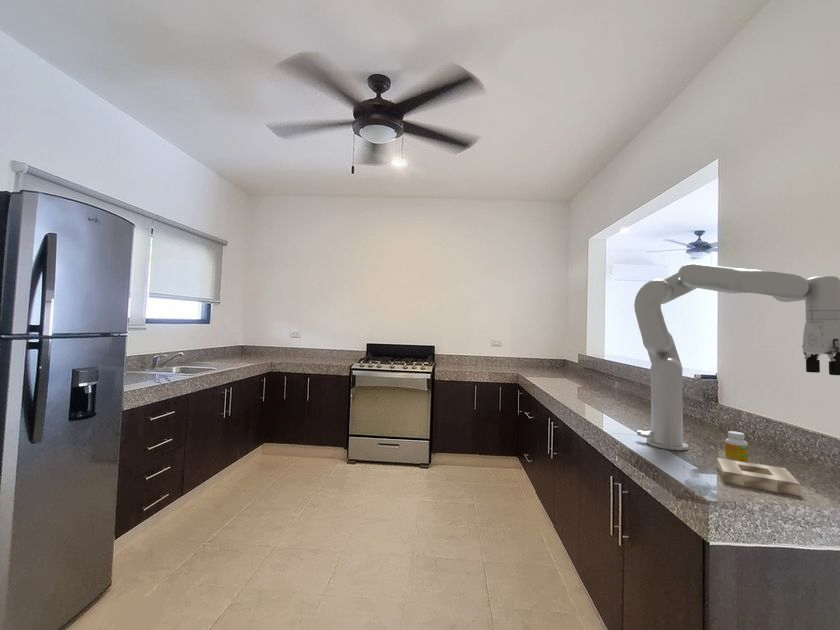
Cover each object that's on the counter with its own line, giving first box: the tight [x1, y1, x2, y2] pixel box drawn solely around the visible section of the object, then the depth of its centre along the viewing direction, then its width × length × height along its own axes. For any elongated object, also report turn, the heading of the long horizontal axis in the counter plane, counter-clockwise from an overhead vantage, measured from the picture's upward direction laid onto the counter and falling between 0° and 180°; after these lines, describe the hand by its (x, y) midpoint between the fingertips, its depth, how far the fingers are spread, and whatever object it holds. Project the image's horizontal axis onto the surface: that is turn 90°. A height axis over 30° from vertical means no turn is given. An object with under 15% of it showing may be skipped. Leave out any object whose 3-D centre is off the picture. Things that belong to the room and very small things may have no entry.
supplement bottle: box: [724, 430, 749, 463], centre depth 119 cm, size 5×5×10 cm
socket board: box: [716, 457, 801, 497], centre depth 105 cm, size 15×14×3 cm
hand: (824, 373), depth 117 cm, fingers open, 9 cm apart
